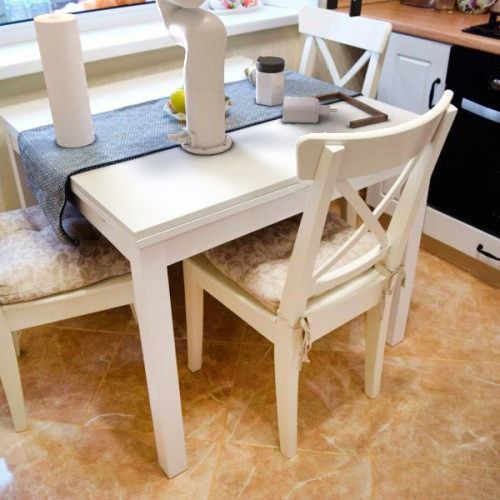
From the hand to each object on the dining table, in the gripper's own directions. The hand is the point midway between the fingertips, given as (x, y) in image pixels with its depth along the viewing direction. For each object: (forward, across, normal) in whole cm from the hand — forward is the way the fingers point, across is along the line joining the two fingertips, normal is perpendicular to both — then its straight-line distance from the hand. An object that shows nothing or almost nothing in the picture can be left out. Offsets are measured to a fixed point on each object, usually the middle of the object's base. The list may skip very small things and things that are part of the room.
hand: (342, 12), depth 148 cm
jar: (+28, -19, -9) cm, 35 cm away
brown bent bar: (+27, -2, +6) cm, 28 cm away
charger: (+28, -2, -6) cm, 29 cm away
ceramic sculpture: (+28, -35, -3) cm, 45 cm away
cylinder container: (+28, -17, -67) cm, 75 cm away
